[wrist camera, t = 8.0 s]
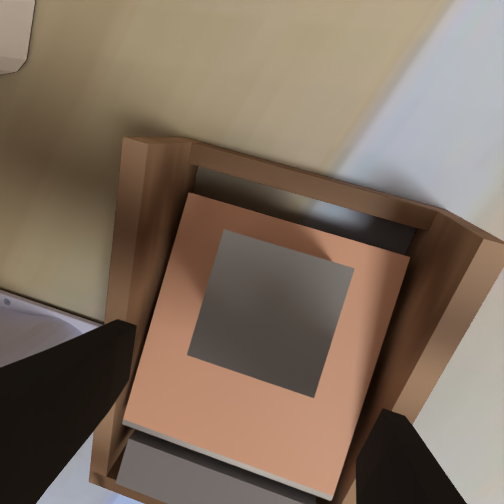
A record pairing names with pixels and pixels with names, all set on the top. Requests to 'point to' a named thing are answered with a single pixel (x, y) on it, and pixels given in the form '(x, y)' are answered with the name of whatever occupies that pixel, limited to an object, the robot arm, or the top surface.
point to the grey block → (270, 312)
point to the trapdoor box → (324, 189)
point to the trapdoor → (250, 378)
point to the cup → (14, 33)
